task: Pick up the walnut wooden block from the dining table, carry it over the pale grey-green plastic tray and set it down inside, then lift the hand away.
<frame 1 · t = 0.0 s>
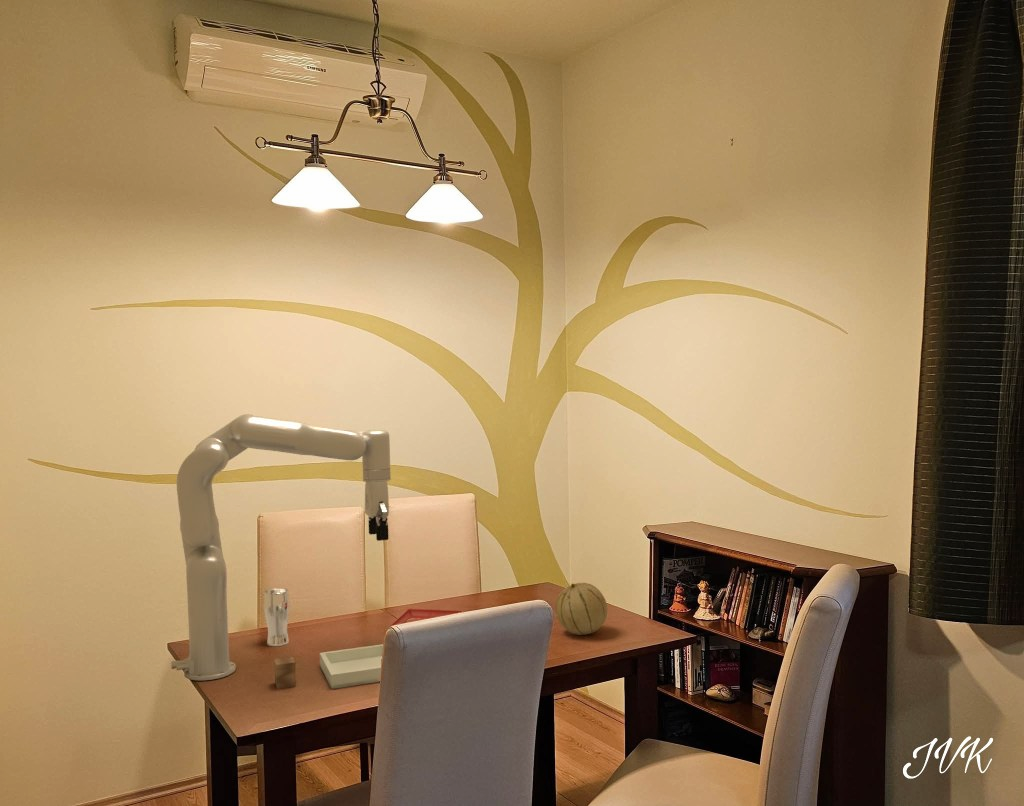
hand: (378, 537, 242), 31 cm above the table, tool pointing down, fingers open, 9 cm apart
block: (285, 684, 218), on the table
plant saucer: (427, 629, 263), on the table
cantaloupe: (582, 634, 253), on the table
tray: (361, 671, 225), on the table
beer glass: (278, 643, 251), on the table
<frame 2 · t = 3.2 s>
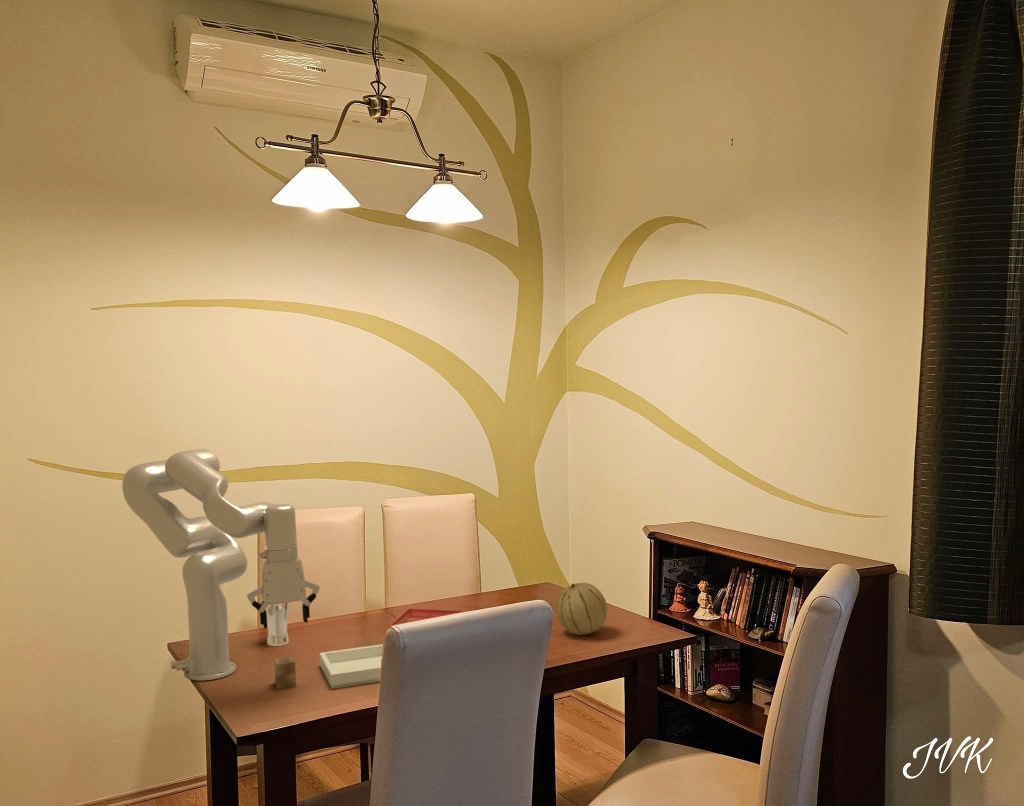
hand: (285, 624, 217), 15 cm above the table, tool pointing down, fingers open, 9 cm apart
nothing on the table moved.
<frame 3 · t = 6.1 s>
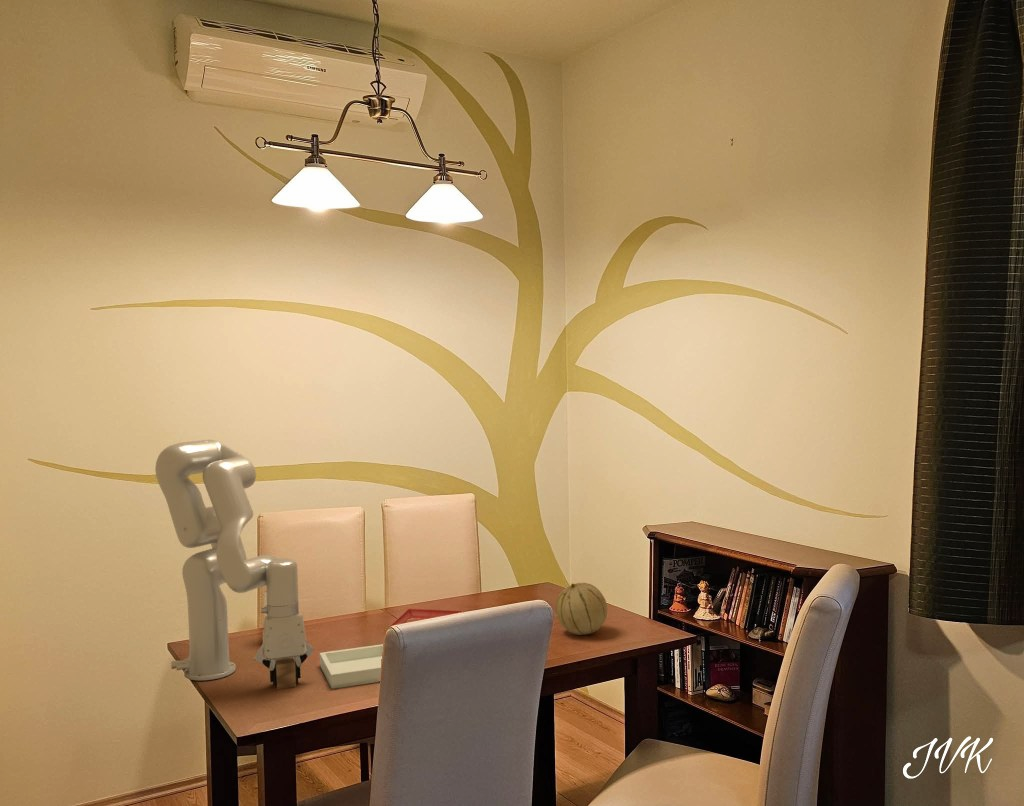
hand: (285, 682, 218), 1 cm above the table, tool pointing down, fingers closed on block, 4 cm apart
block: (285, 684, 218), on the table, touching gripper
everything else where it was.
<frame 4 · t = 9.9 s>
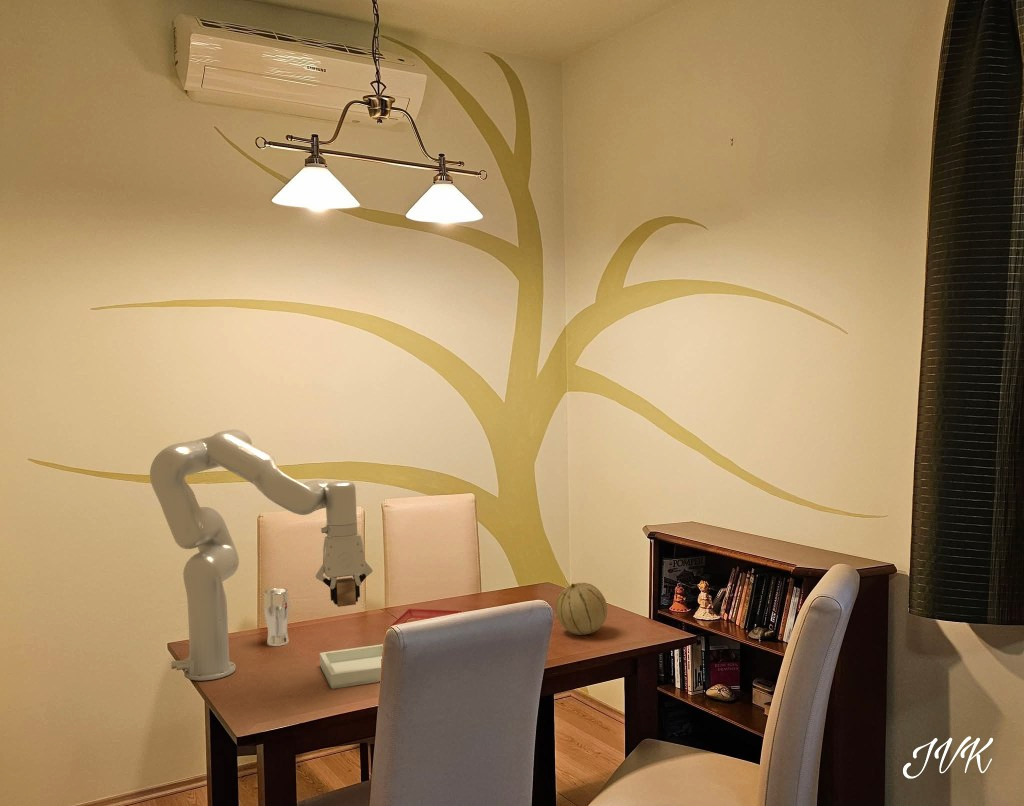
hand: (345, 601, 223), 19 cm above the table, tool pointing down, fingers closed on block, 4 cm apart
block: (345, 603, 223), point 18 cm above the table, touching gripper
everything else where it was.
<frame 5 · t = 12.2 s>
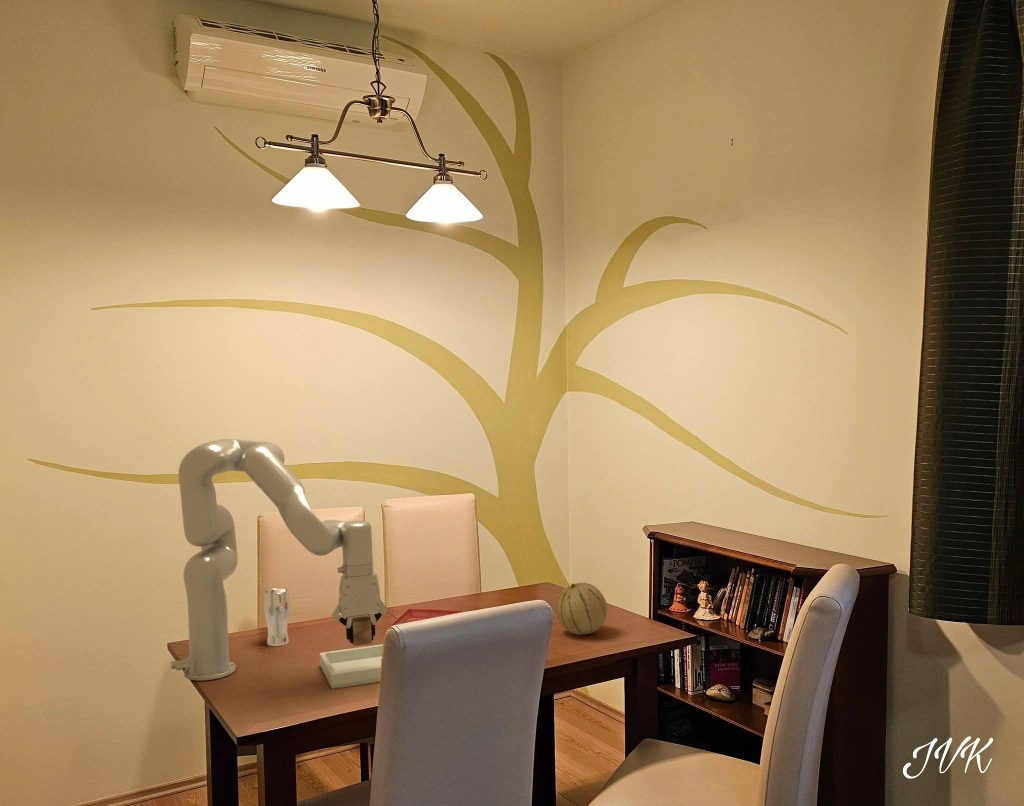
hand: (361, 639, 225), 8 cm above the table, tool pointing down, fingers closed on block, 4 cm apart
block: (361, 642, 225), point 8 cm above the table, touching gripper
everything else where it was.
when the fingers open (3 cm above the table, at t = 14.0 s): block drops 2 cm, resting on tray.
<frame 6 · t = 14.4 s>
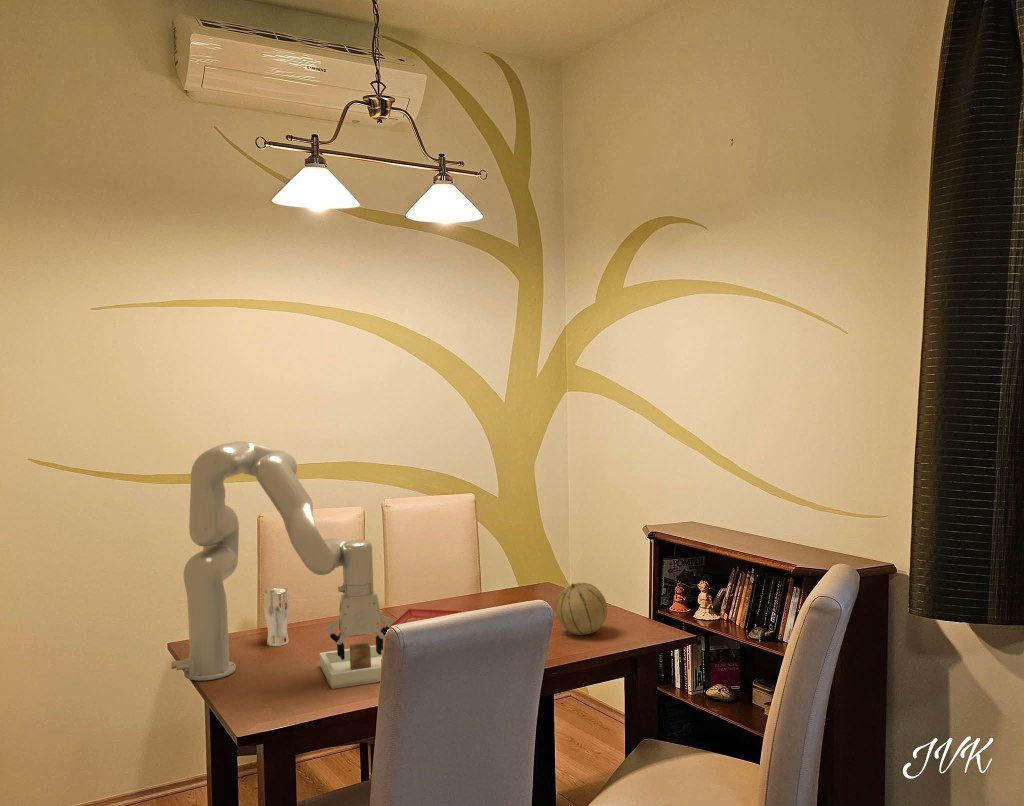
hand: (360, 655, 225), 4 cm above the table, tool pointing down, fingers open, 9 cm apart
block: (360, 668, 225), point 1 cm above the table, touching tray
everything else where it was.
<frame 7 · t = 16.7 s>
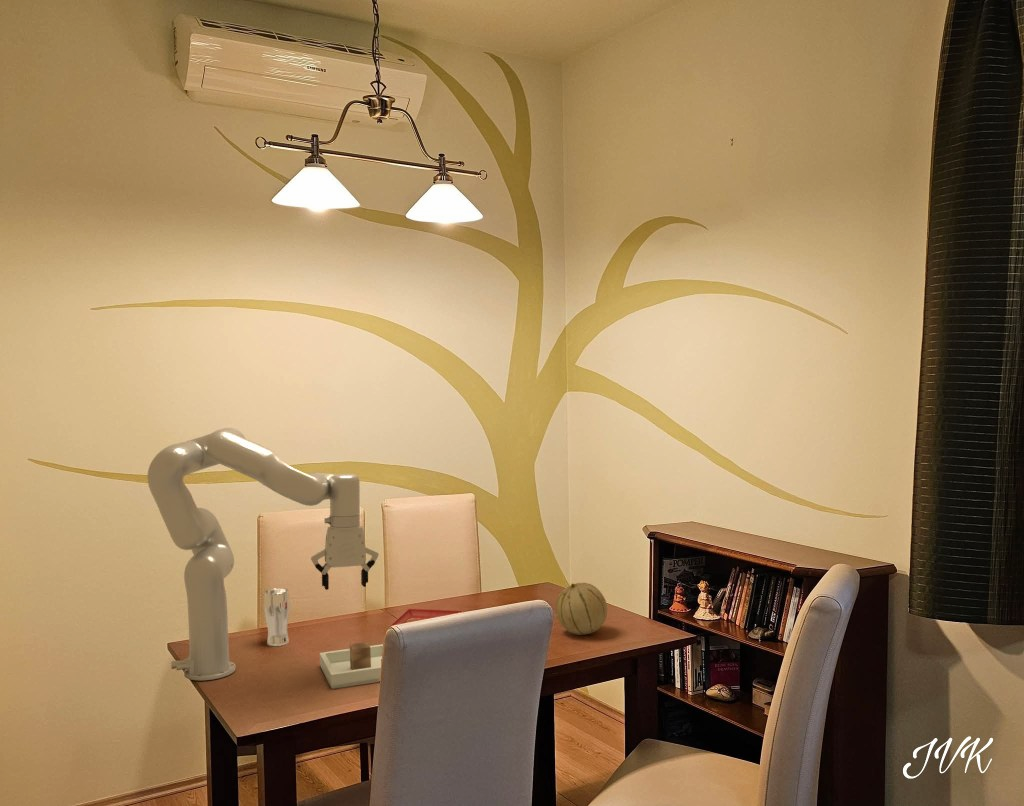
hand: (345, 587, 228), 21 cm above the table, tool pointing down, fingers open, 9 cm apart
nothing on the table moved.
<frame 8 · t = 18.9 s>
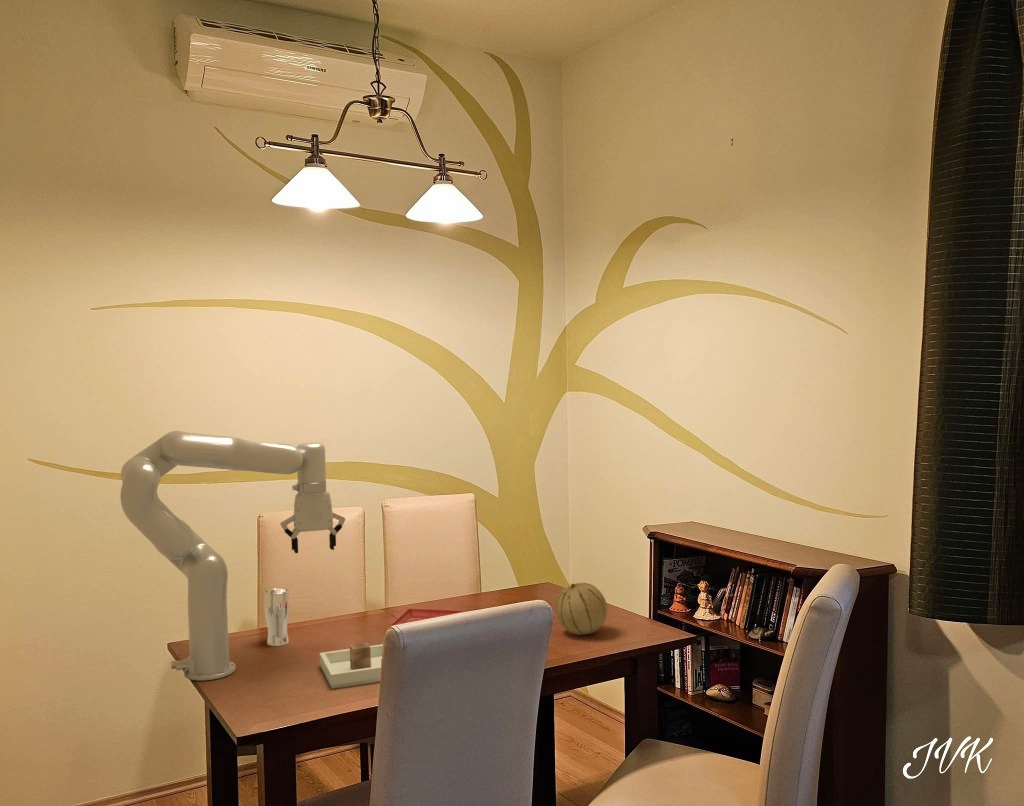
hand: (314, 550, 240), 28 cm above the table, tool pointing down, fingers open, 9 cm apart
nothing on the table moved.
at the end: block inside the target area on the tray (0.1 cm from its centre), point 0.8 cm above the tray's base; block tilted 0°; the gripper is holding nothing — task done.
